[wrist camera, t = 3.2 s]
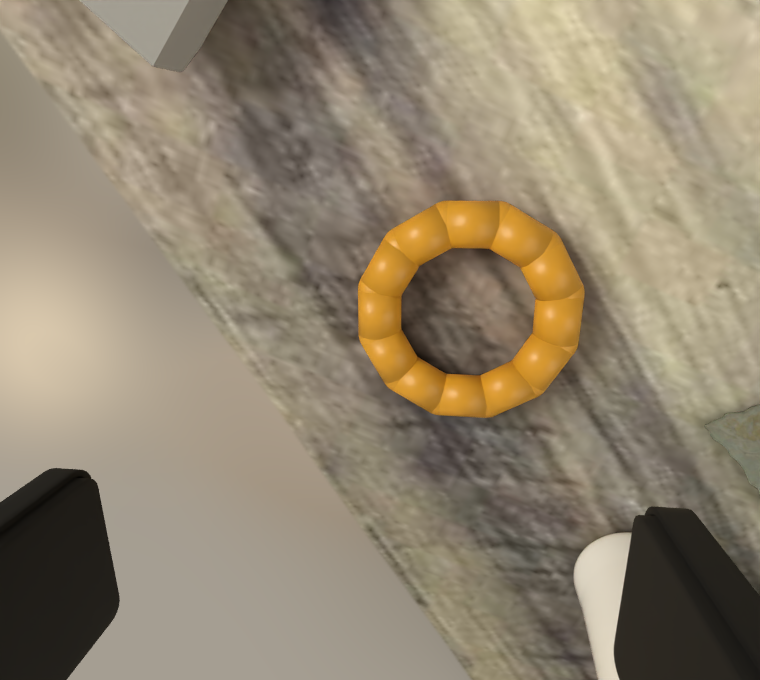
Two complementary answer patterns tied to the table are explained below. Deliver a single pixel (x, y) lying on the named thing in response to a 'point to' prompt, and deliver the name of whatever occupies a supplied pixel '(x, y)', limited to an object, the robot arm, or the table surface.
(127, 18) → the flat grey box
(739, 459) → the rock
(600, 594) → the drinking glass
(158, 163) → the table surface
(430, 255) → the ring
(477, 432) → the table surface
